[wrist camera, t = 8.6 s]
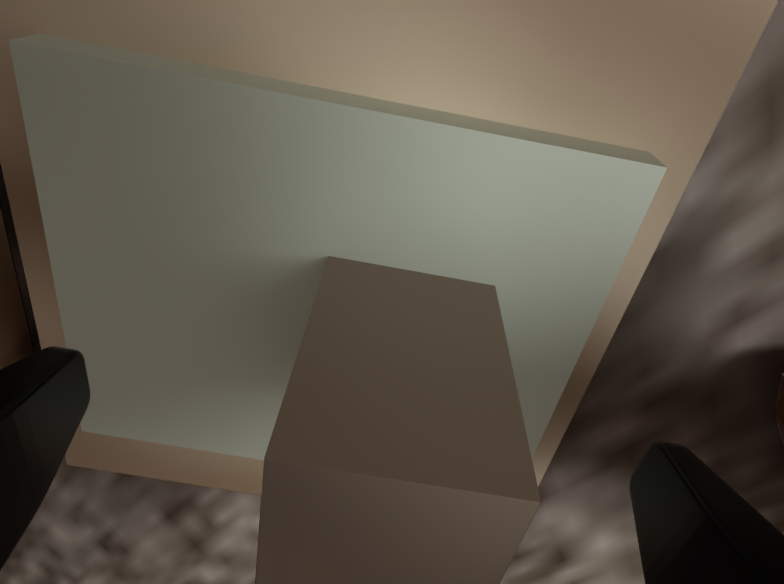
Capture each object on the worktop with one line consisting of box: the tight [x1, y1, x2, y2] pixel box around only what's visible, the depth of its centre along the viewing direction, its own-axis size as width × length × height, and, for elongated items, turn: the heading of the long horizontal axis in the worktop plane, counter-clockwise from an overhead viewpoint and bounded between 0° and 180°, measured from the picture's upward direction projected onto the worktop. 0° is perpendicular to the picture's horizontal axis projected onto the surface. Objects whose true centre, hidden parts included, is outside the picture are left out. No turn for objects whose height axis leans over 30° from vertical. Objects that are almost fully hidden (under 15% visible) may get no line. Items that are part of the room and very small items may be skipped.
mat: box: [0, 0, 778, 495], centre depth 11 cm, size 13×12×1 cm
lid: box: [9, 33, 667, 584], centre depth 9 cm, size 8×10×5 cm
